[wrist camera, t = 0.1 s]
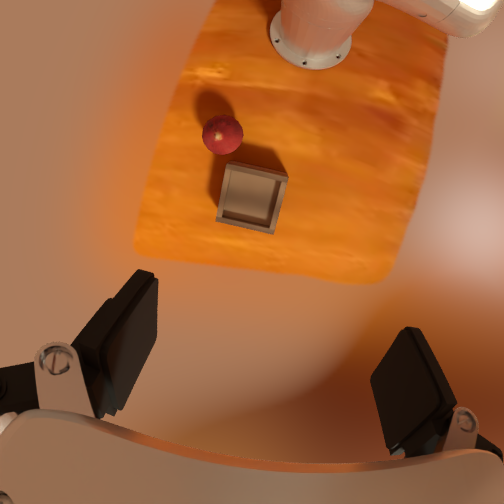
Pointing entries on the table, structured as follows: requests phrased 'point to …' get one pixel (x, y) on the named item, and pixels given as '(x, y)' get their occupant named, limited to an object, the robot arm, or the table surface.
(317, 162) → the table surface
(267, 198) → the base
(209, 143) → the onion
